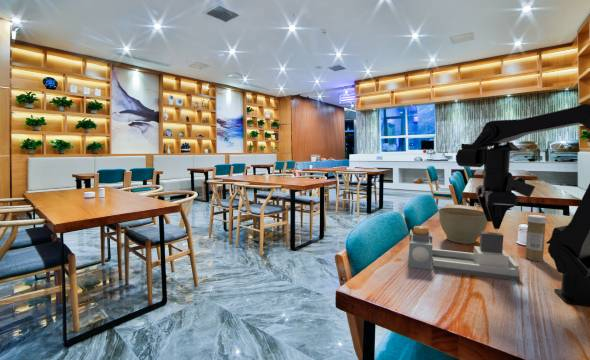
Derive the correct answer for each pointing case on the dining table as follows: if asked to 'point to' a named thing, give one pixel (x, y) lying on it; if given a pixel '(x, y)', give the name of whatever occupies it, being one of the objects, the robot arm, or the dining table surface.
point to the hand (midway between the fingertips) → (492, 225)
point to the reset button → (421, 230)
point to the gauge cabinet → (420, 251)
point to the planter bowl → (462, 224)
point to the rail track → (471, 265)
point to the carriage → (491, 250)
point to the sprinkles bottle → (535, 237)
